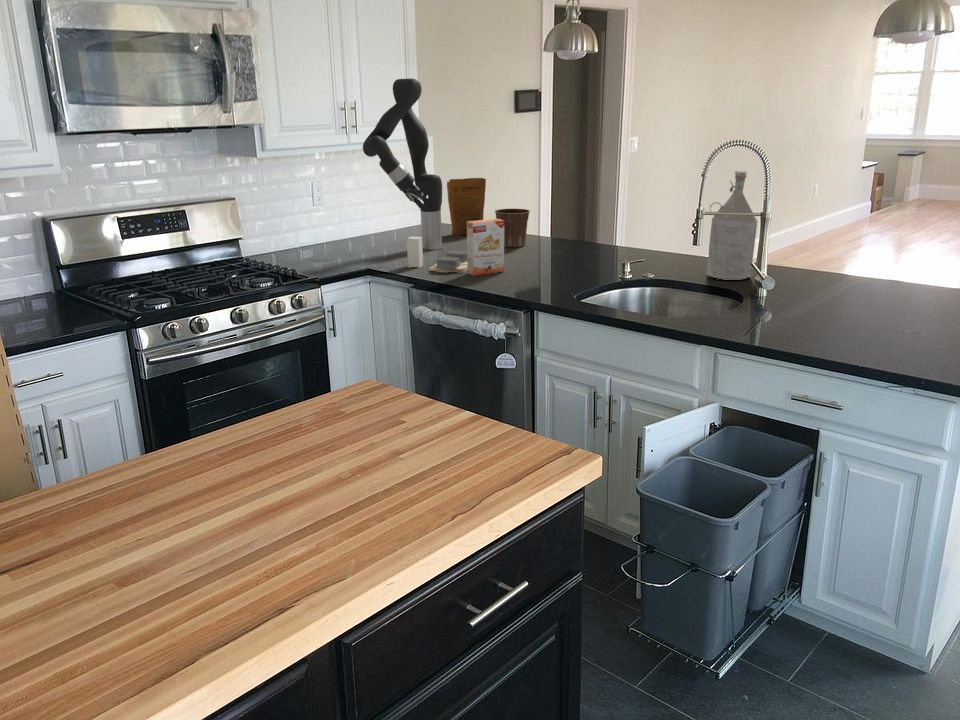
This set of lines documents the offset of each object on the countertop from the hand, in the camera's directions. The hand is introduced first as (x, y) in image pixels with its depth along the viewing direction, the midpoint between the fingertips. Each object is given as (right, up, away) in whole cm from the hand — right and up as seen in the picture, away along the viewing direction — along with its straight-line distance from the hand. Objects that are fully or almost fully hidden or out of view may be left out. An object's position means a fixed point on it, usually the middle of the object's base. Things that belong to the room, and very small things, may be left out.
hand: (426, 206), depth 329 cm
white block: (-4, -26, -6) cm, 27 cm away
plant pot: (+38, -12, +32) cm, 51 cm away
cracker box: (+25, -31, -20) cm, 44 cm away
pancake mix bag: (+17, -2, +60) cm, 63 cm away
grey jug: (+117, -34, -34) cm, 126 cm away
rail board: (+12, -27, -10) cm, 31 cm away
